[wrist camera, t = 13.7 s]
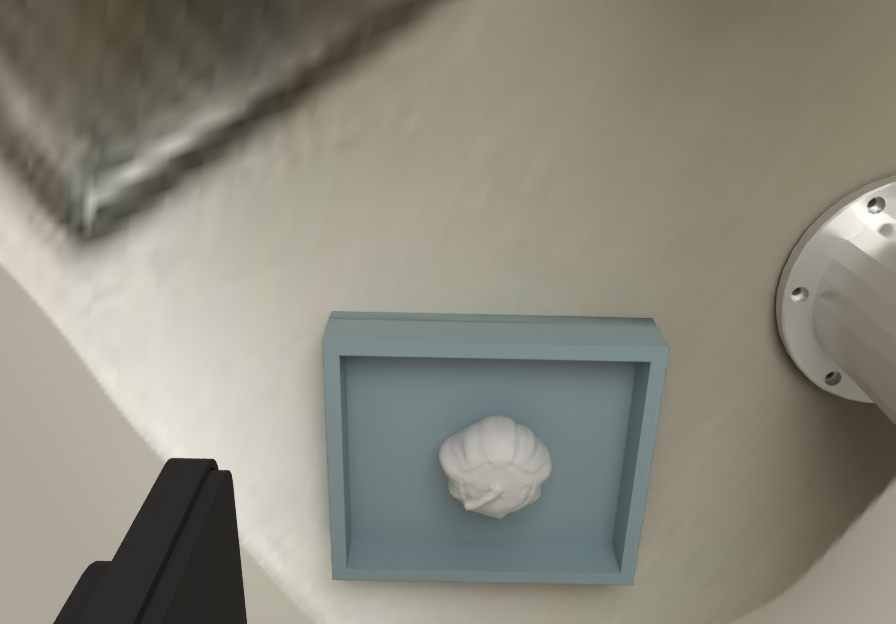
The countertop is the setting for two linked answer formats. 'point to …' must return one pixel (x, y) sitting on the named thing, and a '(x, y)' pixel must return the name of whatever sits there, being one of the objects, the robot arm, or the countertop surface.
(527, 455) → the garlic
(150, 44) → the countertop surface
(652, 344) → the tray
